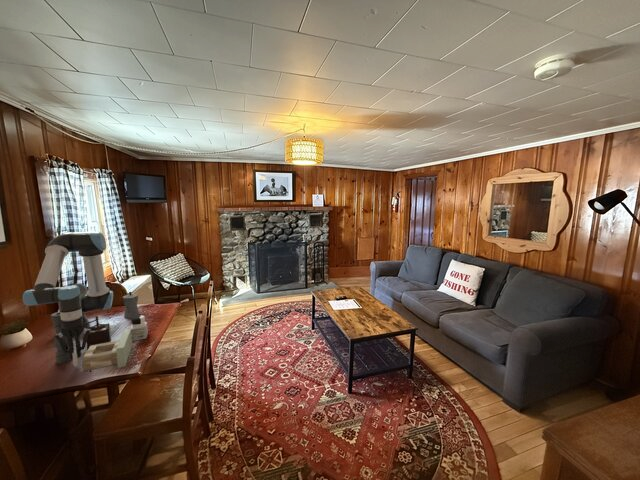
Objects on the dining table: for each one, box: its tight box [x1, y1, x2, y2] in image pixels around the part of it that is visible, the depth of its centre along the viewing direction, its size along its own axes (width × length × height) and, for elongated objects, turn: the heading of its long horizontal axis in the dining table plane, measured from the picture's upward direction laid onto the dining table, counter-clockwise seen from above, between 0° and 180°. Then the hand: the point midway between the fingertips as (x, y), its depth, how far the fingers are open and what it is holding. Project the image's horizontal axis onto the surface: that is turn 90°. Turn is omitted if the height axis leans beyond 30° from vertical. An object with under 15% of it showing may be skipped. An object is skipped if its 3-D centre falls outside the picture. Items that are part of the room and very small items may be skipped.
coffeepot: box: [122, 291, 141, 319], centre depth 192 cm, size 15×9×18 cm, turn 44°
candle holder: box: [50, 311, 72, 365], centre depth 135 cm, size 6×6×25 cm
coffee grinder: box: [81, 316, 112, 351], centre depth 151 cm, size 16×11×18 cm
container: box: [129, 314, 149, 342], centre depth 161 cm, size 8×8×13 cm
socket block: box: [81, 339, 120, 372], centre depth 137 cm, size 14×14×6 cm
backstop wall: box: [116, 328, 133, 369], centre depth 141 cm, size 22×3×10 cm, turn 28°
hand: (76, 364), depth 131 cm, fingers closed
